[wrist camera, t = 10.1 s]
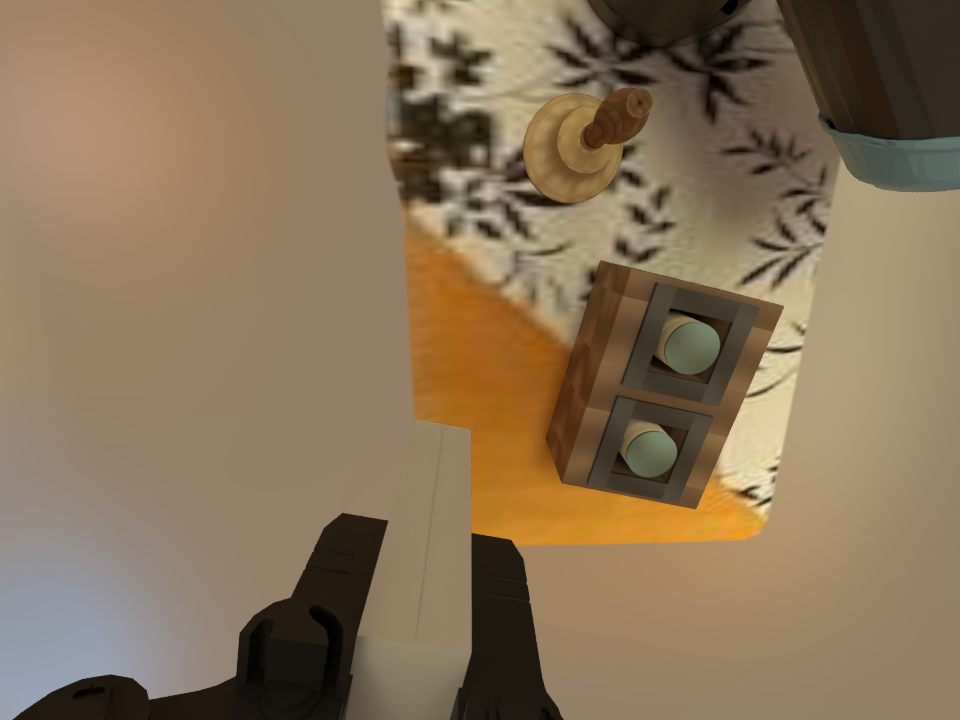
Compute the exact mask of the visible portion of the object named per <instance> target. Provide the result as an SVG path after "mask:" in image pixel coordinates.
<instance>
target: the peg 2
mask: <svg viewBox="0 0 960 720" xmlns="http://www.w3.org/2000/svg"><path fill="white" fill-rule="evenodd" d="M719 349H720V340H719V337H718V334H717V333H716V331H715V330H714V329H713V328H712V327H710V326H709V325H707V324H704V323H702V322H700V321H697V320H695V319H693V318H690V317H688V316H686V315H683V314H681V313H678V312H676V311H674V310H671V309H669V312H668V315H667V318H666V320H665V323H664V326H663V329H662V332H661V334H660V337H659V340H658V343H657V345H656V348H655V351H654V354H653V355H654V356H656V357H657V358H658V359H660V360H661V361H663V362H664V363H665V364H667V365H668V366H670V367H671V368H672V369H674V370H675V371H677V372H679V373H682V374H687V375H691V374H697V373H700V372H702V371H704V370H706V369H707V368H708V367H710V366H711V365H712V363H713V362H714V361H715V359H716V358H717V356H718V353H719Z"/></svg>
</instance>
